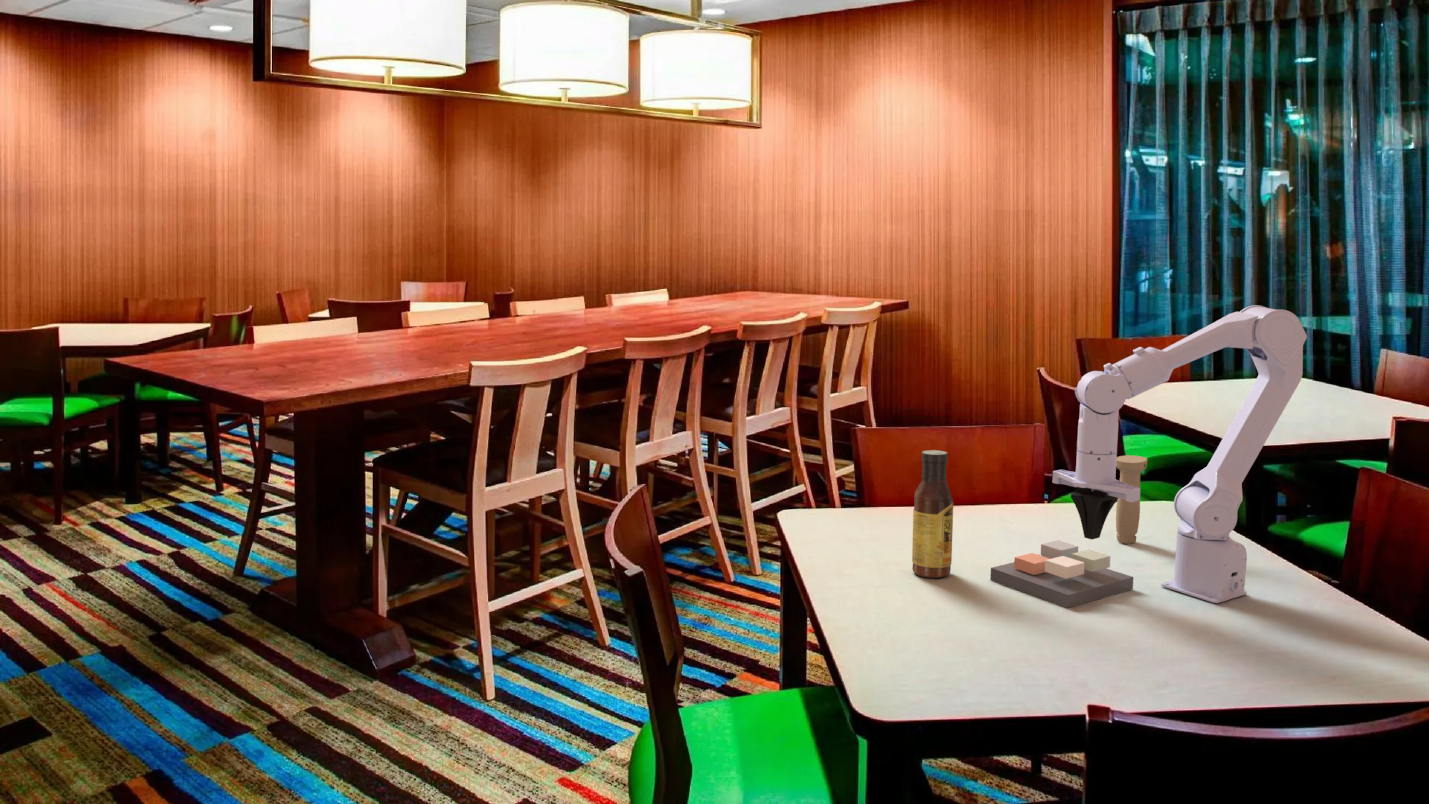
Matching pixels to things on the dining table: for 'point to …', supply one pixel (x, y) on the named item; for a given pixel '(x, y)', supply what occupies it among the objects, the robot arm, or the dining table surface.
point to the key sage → (1092, 560)
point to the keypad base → (1064, 584)
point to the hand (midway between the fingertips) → (1091, 537)
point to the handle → (1127, 510)
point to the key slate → (1058, 549)
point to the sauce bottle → (932, 518)
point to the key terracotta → (1030, 563)
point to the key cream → (1064, 567)
